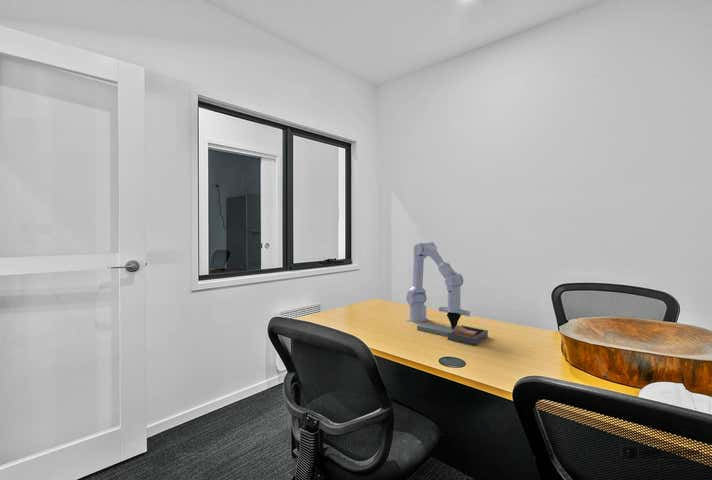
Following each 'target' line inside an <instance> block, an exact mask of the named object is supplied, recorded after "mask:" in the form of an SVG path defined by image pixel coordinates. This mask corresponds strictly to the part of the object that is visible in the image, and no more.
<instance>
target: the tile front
mask: <svg viewBox="0 0 712 480" xmlns="http://www.w3.org/2000/svg"><path fill="white" fill-rule="evenodd" d="M463 336H468V337H473V338H474V337H476V336H477V332H475V331H470V330H466V331H464V332H463Z"/></svg>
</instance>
